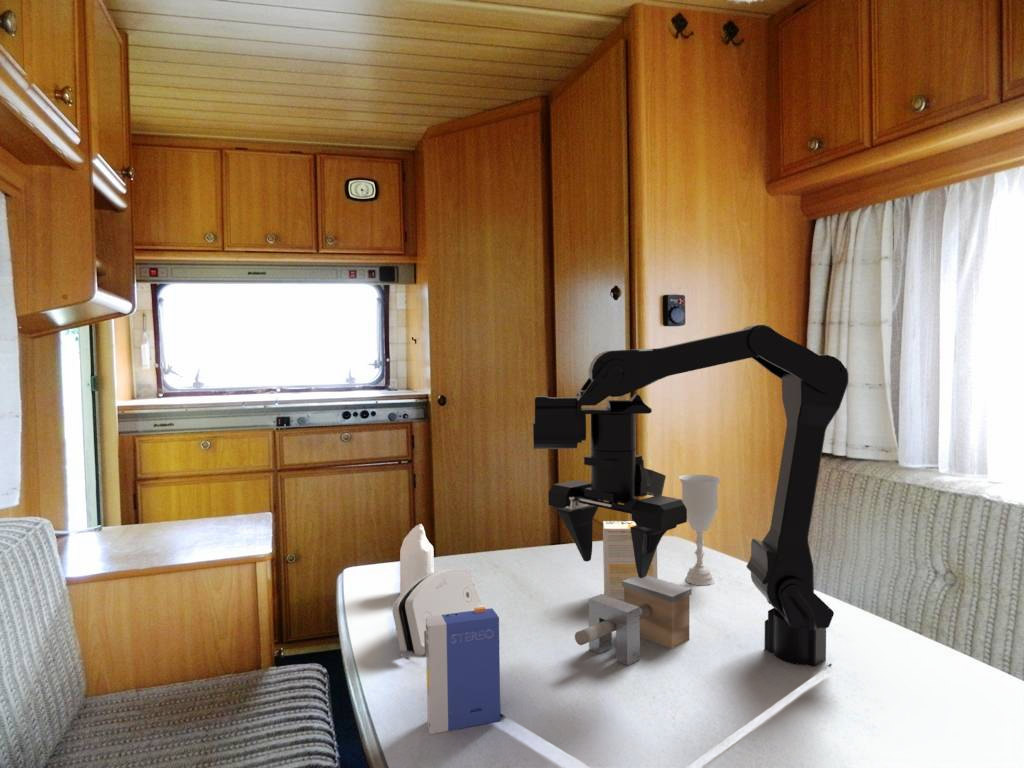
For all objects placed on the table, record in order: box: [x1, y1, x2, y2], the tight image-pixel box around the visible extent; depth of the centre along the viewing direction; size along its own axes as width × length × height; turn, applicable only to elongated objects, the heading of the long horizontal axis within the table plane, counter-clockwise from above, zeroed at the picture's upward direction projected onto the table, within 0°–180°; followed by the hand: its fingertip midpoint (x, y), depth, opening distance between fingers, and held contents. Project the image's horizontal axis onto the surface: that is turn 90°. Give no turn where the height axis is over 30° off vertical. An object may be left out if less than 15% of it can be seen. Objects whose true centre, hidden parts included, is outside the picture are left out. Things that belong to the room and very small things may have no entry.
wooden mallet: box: [574, 575, 693, 649], centre depth 90 cm, size 18×8×8 cm, turn 132°
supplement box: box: [602, 520, 659, 602], centre depth 107 cm, size 8×5×13 cm, turn 84°
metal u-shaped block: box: [588, 593, 641, 666], centre depth 88 cm, size 6×2×7 cm, turn 42°
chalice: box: [678, 474, 721, 586], centre depth 118 cm, size 7×7×18 cm
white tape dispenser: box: [391, 568, 490, 659], centre depth 97 cm, size 17×5×10 cm, turn 153°
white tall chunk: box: [399, 523, 435, 596], centre depth 113 cm, size 6×12×6 cm
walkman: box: [424, 607, 501, 735], centre depth 74 cm, size 8×3×12 cm, turn 107°
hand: (613, 568), depth 88 cm, fingers open, 9 cm apart
